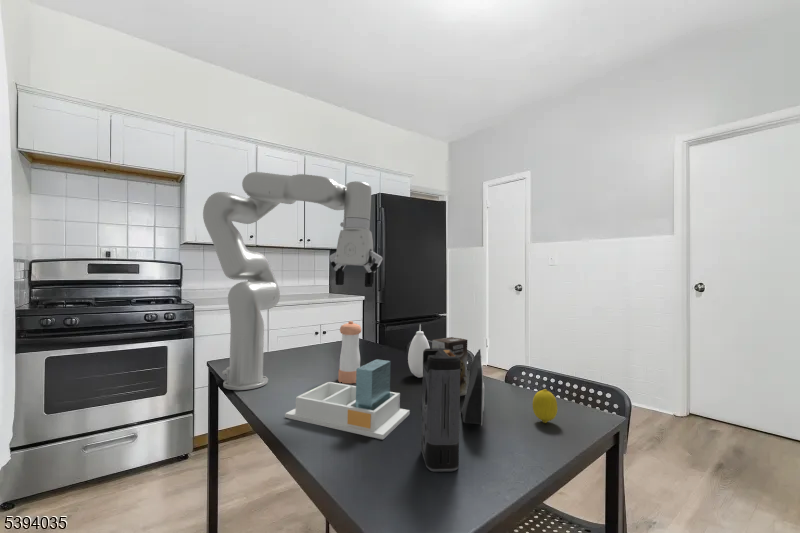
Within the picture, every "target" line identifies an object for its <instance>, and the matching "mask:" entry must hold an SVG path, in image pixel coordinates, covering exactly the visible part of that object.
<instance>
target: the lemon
mask: <svg viewBox="0 0 800 533" xmlns="http://www.w3.org/2000/svg"><path fill="white" fill-rule="evenodd" d="M532 410H533V413H534V415H535V416H536V418H538V420H540V421H541V422H542V423H543V424H547V423H548V422H551V421H553V420H554V419H555V418H556V416H557V413H558V402H557V398H556V397H555V395H554V394H553V393H552V392H551V391H550V390H548V389H546V388H544V389H542V390H538V391H537V392H536V393H535V395H534V396H533V399H532Z"/></svg>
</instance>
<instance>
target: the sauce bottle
mask: <svg viewBox="0 0 800 533" xmlns="http://www.w3.org/2000/svg"><path fill="white" fill-rule="evenodd" d="M421 325H422V324H419V329H418V331H416V332H415V335H414V336H413V338H412V340H411V342H410V345H409V347H408V348H409V349H408V354H407V360H408V361H407V363H408V367H409V370H410V372H411V374H413V376H414V377H417V378H418V379H419V378H423V351H424V350H425V349H428V348H431V347H430V344H429V341H428V339H427V337H426V335H425V333H424V331H423V330H422V326H421ZM421 330H422V331H421Z"/></svg>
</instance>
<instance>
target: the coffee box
mask: <svg viewBox="0 0 800 533" xmlns="http://www.w3.org/2000/svg"><path fill="white" fill-rule="evenodd" d="M431 341H432V342H431V343H432V344H431V348H446V349H450V350H452V351H453V352H454V353H455V354H456V355H457V356H458V357H459V358H460V397H462V396H466V393H467V389H468V384H467V381H468V375H467V374H468V341H469V340H468V339H464V338H459V337H453V336H452V337H444V338H443V337H442V338H436V339H432V340H431Z"/></svg>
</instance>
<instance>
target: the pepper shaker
mask: <svg viewBox="0 0 800 533" xmlns="http://www.w3.org/2000/svg"><path fill="white" fill-rule="evenodd" d="M339 332H340V334H342V335H341V349H340V356H339V369H338V372H337V373H338V378H337V379H338V380H337V381H338V382H339V383H341V382H342V383H341V384H356V369H357V368H359V367H361V354H360V346H359V345H360V341H359V340H360V334H361V333H362V327H361V325H360V324H358V323H354V321H352V320H349V321H348V322H347V323H343V324H342V325H340V328H339Z"/></svg>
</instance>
